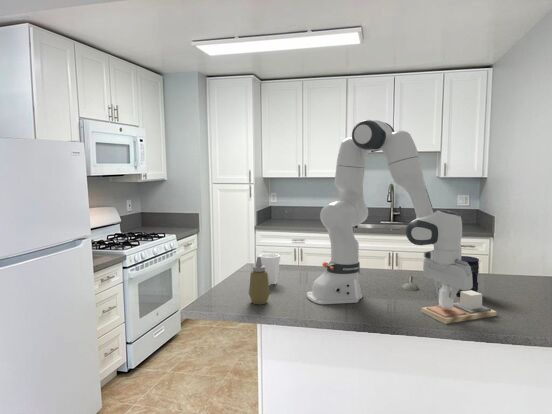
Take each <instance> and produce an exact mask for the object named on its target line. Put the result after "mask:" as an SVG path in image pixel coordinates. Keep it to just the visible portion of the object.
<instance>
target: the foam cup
mask: <svg viewBox="0 0 552 414" xmlns="http://www.w3.org/2000/svg"><path fill="white" fill-rule="evenodd" d="M258 257H260V258H261V262H262V265H263V266H265V271H266V272H267V274H268V283H269V284H275V285H277V284H278V276H279V269H280V261H281V255H280V254H279V253H275V252H272V253H271V252H270V253H269V252H268V253H267V252H266V253H260V254H259V256H258ZM276 283H277V284H276Z"/></svg>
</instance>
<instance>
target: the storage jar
mask: <svg viewBox="0 0 552 414" xmlns="http://www.w3.org/2000/svg"><path fill="white" fill-rule="evenodd" d="M461 261H465V262H467V263H468V264H469V265H470V267H471V272H472V280H473V287H472V288H471V289H470V290H472V291H475V292H478V291H479V282H478V278H479V277H478V276H479V275H478V274H479V271H480V270H479V269H480V266H479V265H480V263H479V261H480V259H479V258H477V257H475V256H468V255H461ZM467 266H468V265H467ZM452 290H453V289H452ZM461 291H469V290H461V289H459V291H458V292H457V294H456V297H459V298H460V292H461ZM478 293H479V292H478Z"/></svg>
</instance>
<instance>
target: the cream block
mask: <svg viewBox="0 0 552 414" xmlns="http://www.w3.org/2000/svg"><path fill="white" fill-rule="evenodd" d="M459 302H460V305H461V306H463V307H466V308H468V309H478V308H482V306H483V293H481V292H475V291H472V290H469V291H461V292H460V297H459Z"/></svg>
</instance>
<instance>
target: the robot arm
mask: <svg viewBox="0 0 552 414" xmlns="http://www.w3.org/2000/svg"><path fill="white" fill-rule="evenodd" d="M379 151H381V152H383V154H384V156H385V157H386V162H387V166H388V171H389V173H390V175H391V178H392V179H393V182H394V183H395V184H396V185H398V186H399V187H401V188H402V189H403V190H404V191H406V192H407V194H408V195H409V198H410V200H411V202H412V207H413V208H414V213H415V216H416V218H415V219H413V220H412V221H410V222H409V223H407V225H406V228H405V236H406V238H407V239H408V241H409V242H410V243H411V244H413V245H415V246H428V245H432V246H433V250H429V251H428V250H427V251H424V252H423V257H424V260H423V264H422V265H423V266H422V269H423V270H422V272H423V275H424V277H425V278H429V279H430V280H431V279H432V280H433V282H434V283H433V284H434V285H435V287H436V291H435V292H436V294H439V289H440V288H442V283H444V284H447V285H450V286H451V289H453V290H452V292H451V293H449V298H451V299H454V300H455V299H457V296H456V294H457V292H458V291H459V289H461V290H470V289H471V288H472V287H473V280H472V272H471V267H470V265H469V264H468V263H467V262H465V261H461V256H462V252H463V251H462V249H463V248H462V243H461V242H462V238H463V221H462V217H461V215H460V214H459V213H458V212H456V211H454V210H449V209H445V208H444V209H441V208H440V209H437V210H435V211H434V208H433V204H432V202H431V199H430V196H429V192H428V189H427V186H426V183H425V177H424V173H423V167H422V163H421V158H420V154H419V152H418V149H417V146H416V143H415V141H414V139H413V137H412V135H411V133H409V132H408V131H406V130H394V127H392V125H391V124H389V123H387V122H383V121H381V120H371V119H364V120H361V121H359V122H358V123H356V124H355V126H354V127H353V129H352V131H351V137H346V138H345V139H343V140H342V141H341V143H340V146H339V150H338V153H337V159H336V166H335V175H334V186H335V187H336V189H337V191H338V199H339V200H338V201H332V202H330V203H328V204H326V205H324V206H323V207H322V208H321V210H320V213H319V217H320V222H321V223H322V225H323V227H325V228H326V230H327V233H328V236H329V241H330V261H329V262H327V261H323V262H322V264H321V265H322V267H324V268H325V269H326V271H324V272H323V273H322V274H321V275H319V276H318V277H317V278H316V279H315V280H314V281H313V284H312V288H311V291H308V292H306V297H307V299H308V300H310V301H312V302H313V303H315V304H318V305H333V304H336V305H337V304H353V303H355V304H357V303H358V302H359V301H360V299H362V298H363V293H362V289H361V284H360V270H361V269H360V268H361V267H360V266H361V263H360V262H361V261H359V260H360V259H359V255H360V254H359V250H360V247H359V246H360V245H359V241H358V240H357V239H356V237H355V234H354V230H353V227H357V226H360V225H361V224H362V223H364V222H365V221H366V220H367V218H368V217H369V208H368V206H367V204H366V203H365V202H366V201H365V198H364V197H365V196H364V177H365V168H366V161H367V156H368V155H369V153H375V152H379ZM467 265H468V266H467Z"/></svg>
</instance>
